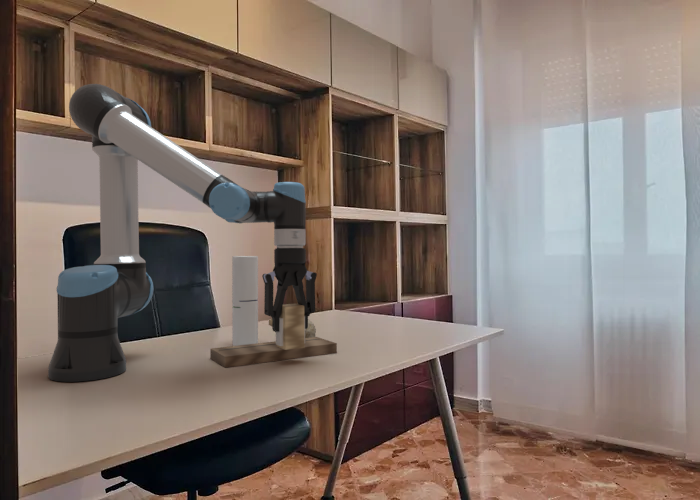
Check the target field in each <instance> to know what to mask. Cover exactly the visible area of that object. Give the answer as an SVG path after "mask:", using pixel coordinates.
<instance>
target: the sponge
mask: <svg viewBox="0 0 700 500" xmlns="http://www.w3.org/2000/svg"><path fill="white" fill-rule="evenodd" d="M316 331H317V329H316V325H315V324H314V323H313V321H312V320H310V319H309V318H308V328H307V329H305V338H311V337H316Z"/></svg>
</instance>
